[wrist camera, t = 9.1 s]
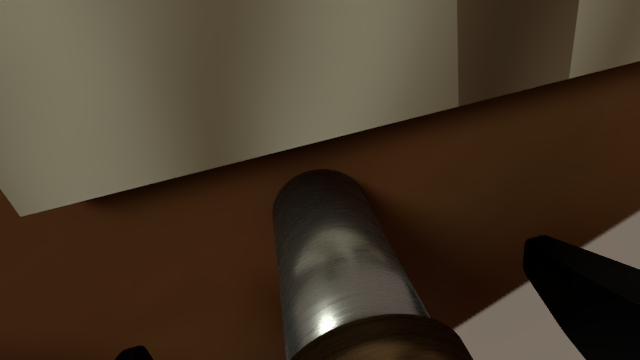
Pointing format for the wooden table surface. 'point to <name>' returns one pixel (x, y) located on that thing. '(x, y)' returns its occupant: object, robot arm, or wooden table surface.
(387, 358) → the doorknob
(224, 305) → the wooden table surface
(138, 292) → the wooden table surface
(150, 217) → the wooden table surface
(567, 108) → the wooden table surface
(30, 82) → the board
